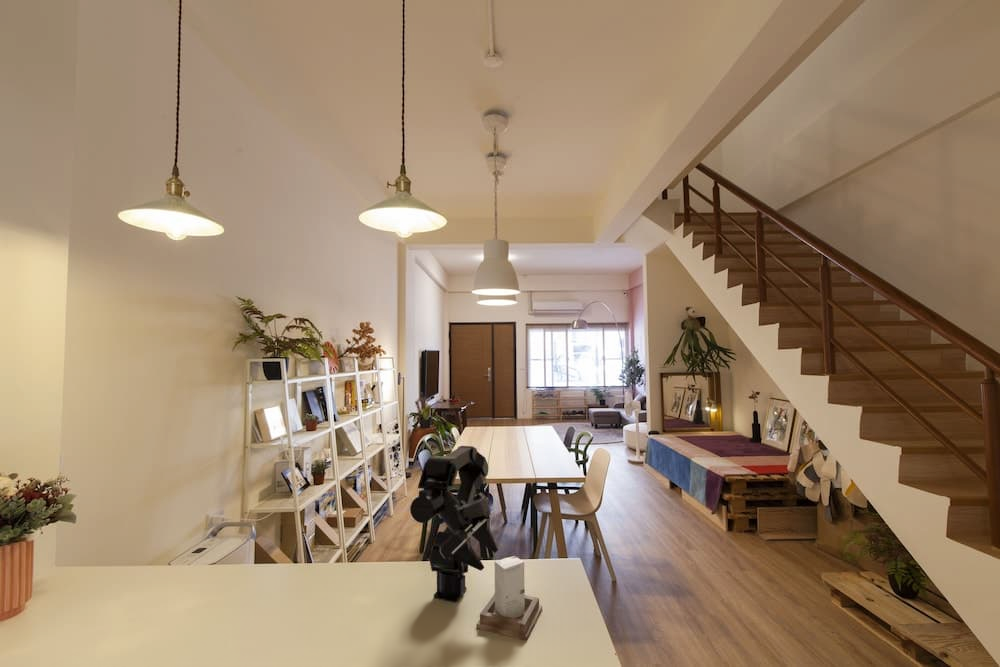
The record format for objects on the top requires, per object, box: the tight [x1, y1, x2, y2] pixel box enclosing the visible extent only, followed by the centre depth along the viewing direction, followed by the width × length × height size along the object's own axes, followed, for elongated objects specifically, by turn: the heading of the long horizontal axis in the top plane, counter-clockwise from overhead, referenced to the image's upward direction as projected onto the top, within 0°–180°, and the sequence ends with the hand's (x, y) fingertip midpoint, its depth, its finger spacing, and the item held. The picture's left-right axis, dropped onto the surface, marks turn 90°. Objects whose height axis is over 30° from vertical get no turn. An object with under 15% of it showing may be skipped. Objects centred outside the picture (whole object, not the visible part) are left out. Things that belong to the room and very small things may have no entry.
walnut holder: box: [476, 593, 543, 641], centre depth 103 cm, size 12×12×3 cm
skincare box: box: [494, 555, 526, 619], centre depth 103 cm, size 6×4×12 cm
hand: (489, 559), depth 103 cm, fingers open, 9 cm apart
